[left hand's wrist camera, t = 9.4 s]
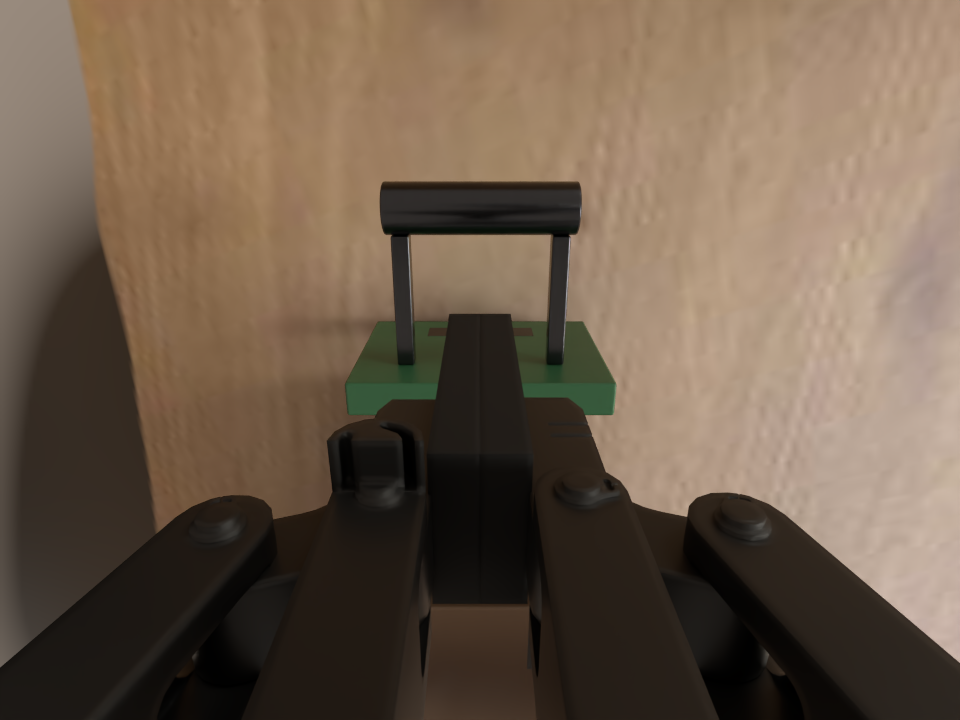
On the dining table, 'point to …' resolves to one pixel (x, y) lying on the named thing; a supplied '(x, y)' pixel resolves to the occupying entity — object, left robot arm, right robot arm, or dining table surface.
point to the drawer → (540, 345)
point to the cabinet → (479, 663)
